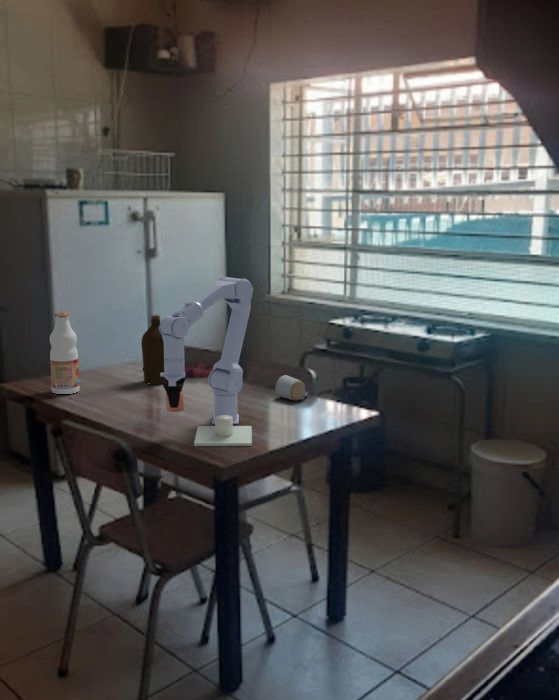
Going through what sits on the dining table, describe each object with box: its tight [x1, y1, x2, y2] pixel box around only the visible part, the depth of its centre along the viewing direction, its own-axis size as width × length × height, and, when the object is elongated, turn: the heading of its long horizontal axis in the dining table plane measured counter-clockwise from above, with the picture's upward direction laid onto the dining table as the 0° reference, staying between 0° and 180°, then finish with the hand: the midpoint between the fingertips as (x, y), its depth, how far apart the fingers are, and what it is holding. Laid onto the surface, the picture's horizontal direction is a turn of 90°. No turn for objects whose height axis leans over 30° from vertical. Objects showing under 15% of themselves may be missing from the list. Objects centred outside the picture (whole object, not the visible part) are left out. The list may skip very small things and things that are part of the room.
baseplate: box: [193, 425, 253, 447], centre depth 218 cm, size 16×16×1 cm
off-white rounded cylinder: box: [214, 415, 234, 437], centre depth 217 cm, size 5×5×5 cm
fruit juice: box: [49, 311, 80, 395], centre depth 263 cm, size 9×9×28 cm
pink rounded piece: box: [165, 390, 185, 413], centre depth 217 cm, size 5×5×5 cm
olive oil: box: [141, 314, 167, 385], centre depth 279 cm, size 11×11×25 cm
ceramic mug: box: [275, 374, 309, 402], centre depth 260 cm, size 11×8×8 cm
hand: (175, 404), depth 217 cm, fingers closed on pink rounded piece, 5 cm apart
